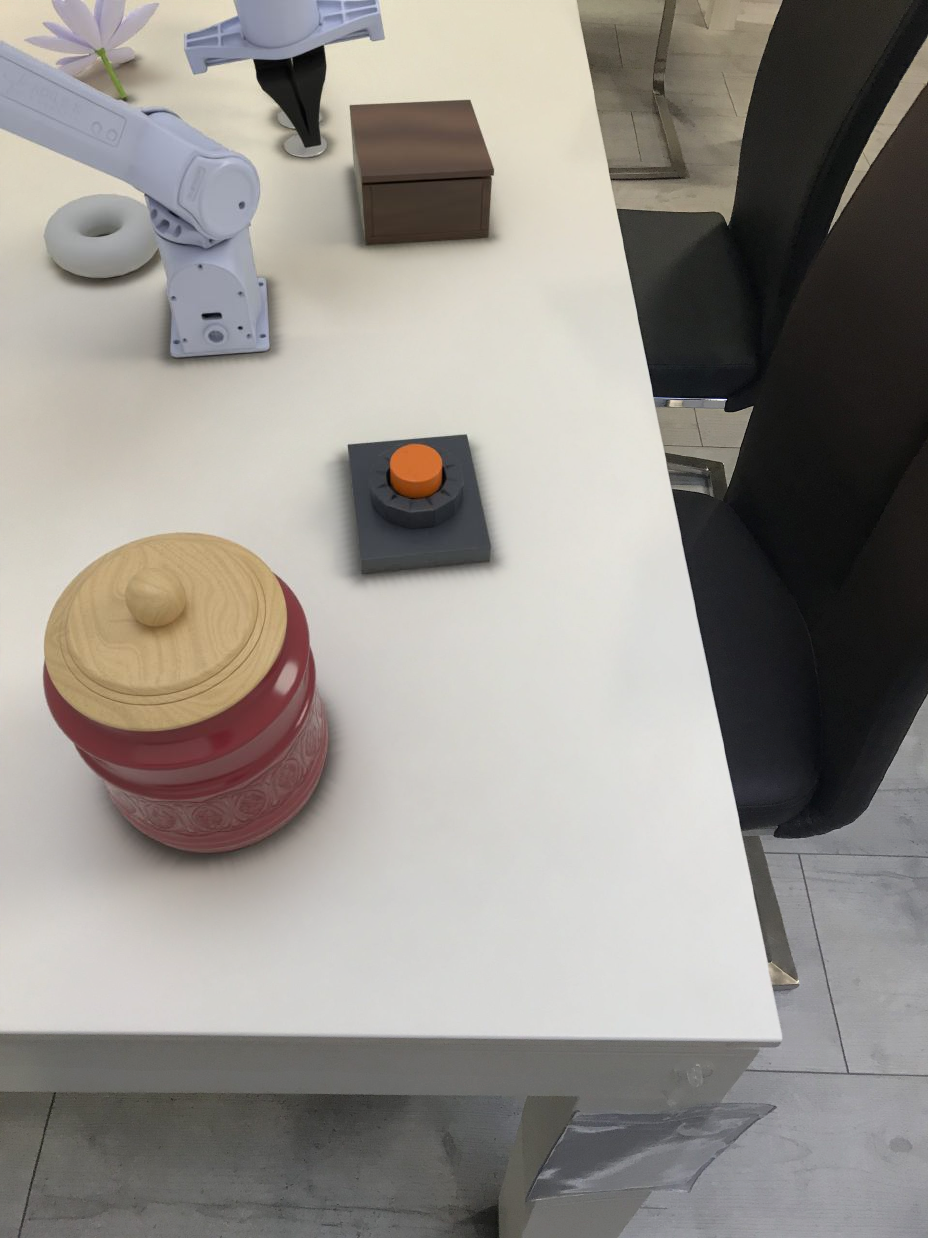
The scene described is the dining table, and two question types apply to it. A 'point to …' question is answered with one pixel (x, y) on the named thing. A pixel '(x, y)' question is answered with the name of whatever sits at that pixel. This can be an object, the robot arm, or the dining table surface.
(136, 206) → the donut
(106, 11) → the water lily
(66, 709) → the kitchen canister
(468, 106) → the lid
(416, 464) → the button
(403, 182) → the brown wooden box
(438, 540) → the control block
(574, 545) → the dining table surface
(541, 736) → the dining table surface
